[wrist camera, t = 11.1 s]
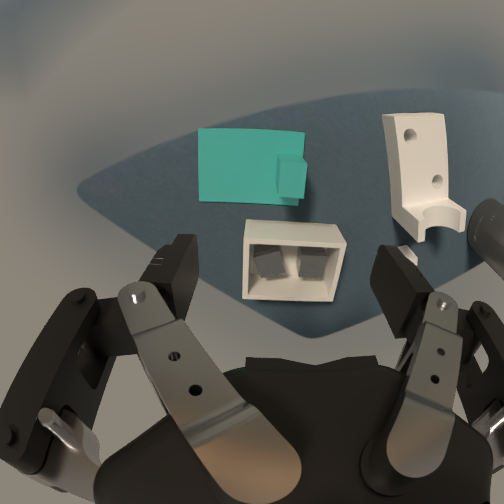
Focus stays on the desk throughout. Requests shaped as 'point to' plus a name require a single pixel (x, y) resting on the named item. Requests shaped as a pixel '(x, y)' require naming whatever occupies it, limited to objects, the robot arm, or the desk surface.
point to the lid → (251, 166)
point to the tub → (292, 260)
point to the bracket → (420, 173)
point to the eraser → (408, 253)
